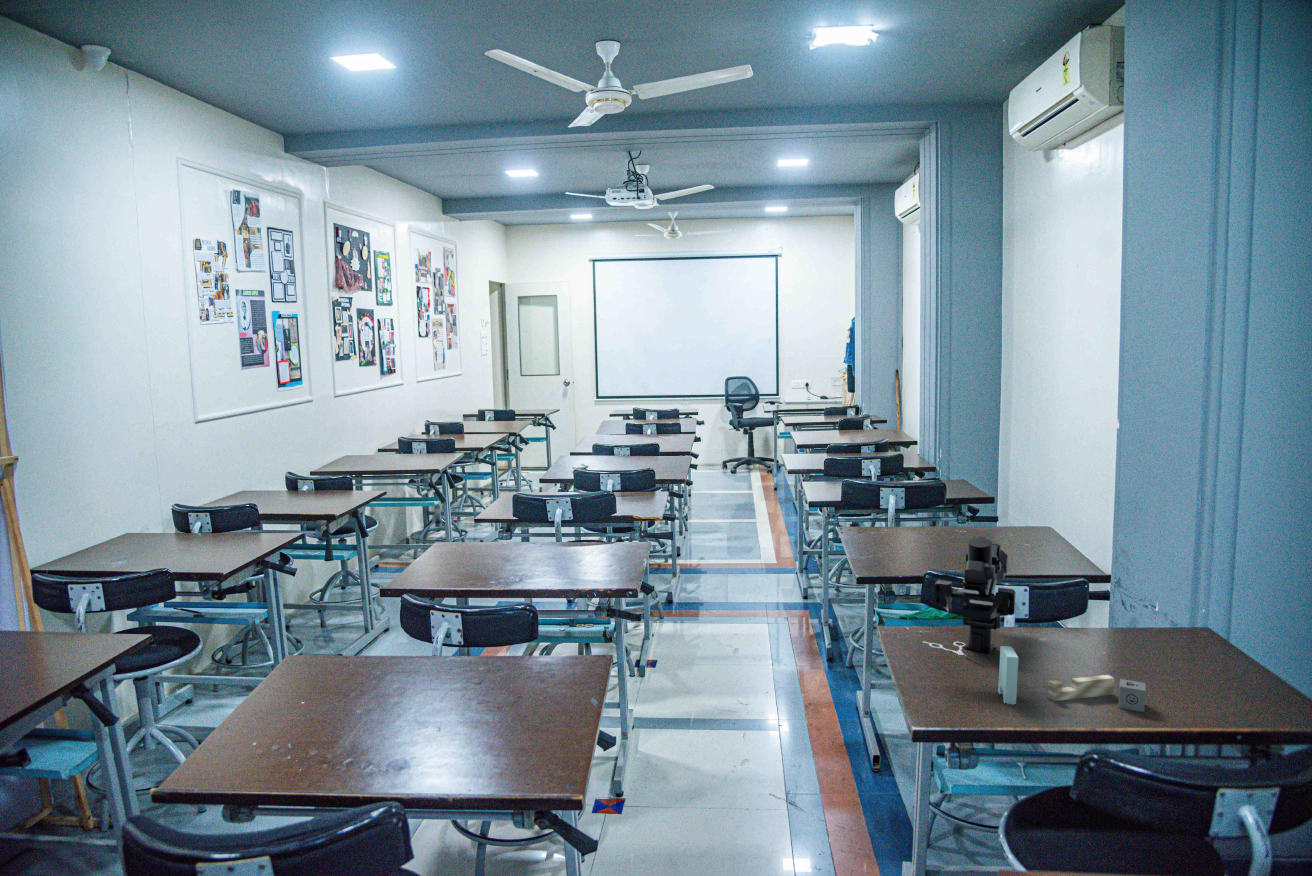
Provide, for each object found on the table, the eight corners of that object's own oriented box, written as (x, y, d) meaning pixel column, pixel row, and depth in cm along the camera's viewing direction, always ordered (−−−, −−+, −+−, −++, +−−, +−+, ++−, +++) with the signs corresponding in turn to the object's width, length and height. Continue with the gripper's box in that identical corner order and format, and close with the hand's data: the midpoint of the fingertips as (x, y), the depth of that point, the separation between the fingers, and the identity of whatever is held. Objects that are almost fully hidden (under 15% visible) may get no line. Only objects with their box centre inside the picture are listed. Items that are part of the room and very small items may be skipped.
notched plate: (998, 691, 202) (1000, 645, 200) (1009, 692, 201) (1011, 646, 200) (1004, 703, 195) (1007, 656, 193) (1016, 704, 194) (1018, 657, 193)
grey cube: (1118, 699, 197) (1120, 678, 197) (1143, 704, 195) (1145, 682, 194) (1118, 707, 193) (1119, 686, 192) (1144, 712, 191) (1145, 690, 190)
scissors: (958, 639, 236) (999, 665, 217) (958, 642, 236) (999, 668, 217) (922, 641, 234) (960, 668, 215) (922, 644, 234) (960, 671, 215)
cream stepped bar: (1053, 701, 196) (1054, 684, 196) (1047, 697, 198) (1048, 680, 198) (1113, 694, 200) (1114, 677, 200) (1106, 691, 202) (1107, 674, 201)
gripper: (939, 550, 221) (928, 579, 208) (1018, 559, 212) (1012, 589, 199) (939, 589, 224) (929, 619, 211) (1017, 599, 216) (1011, 631, 203)
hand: (969, 614), depth 206 cm, fingers open, 9 cm apart
